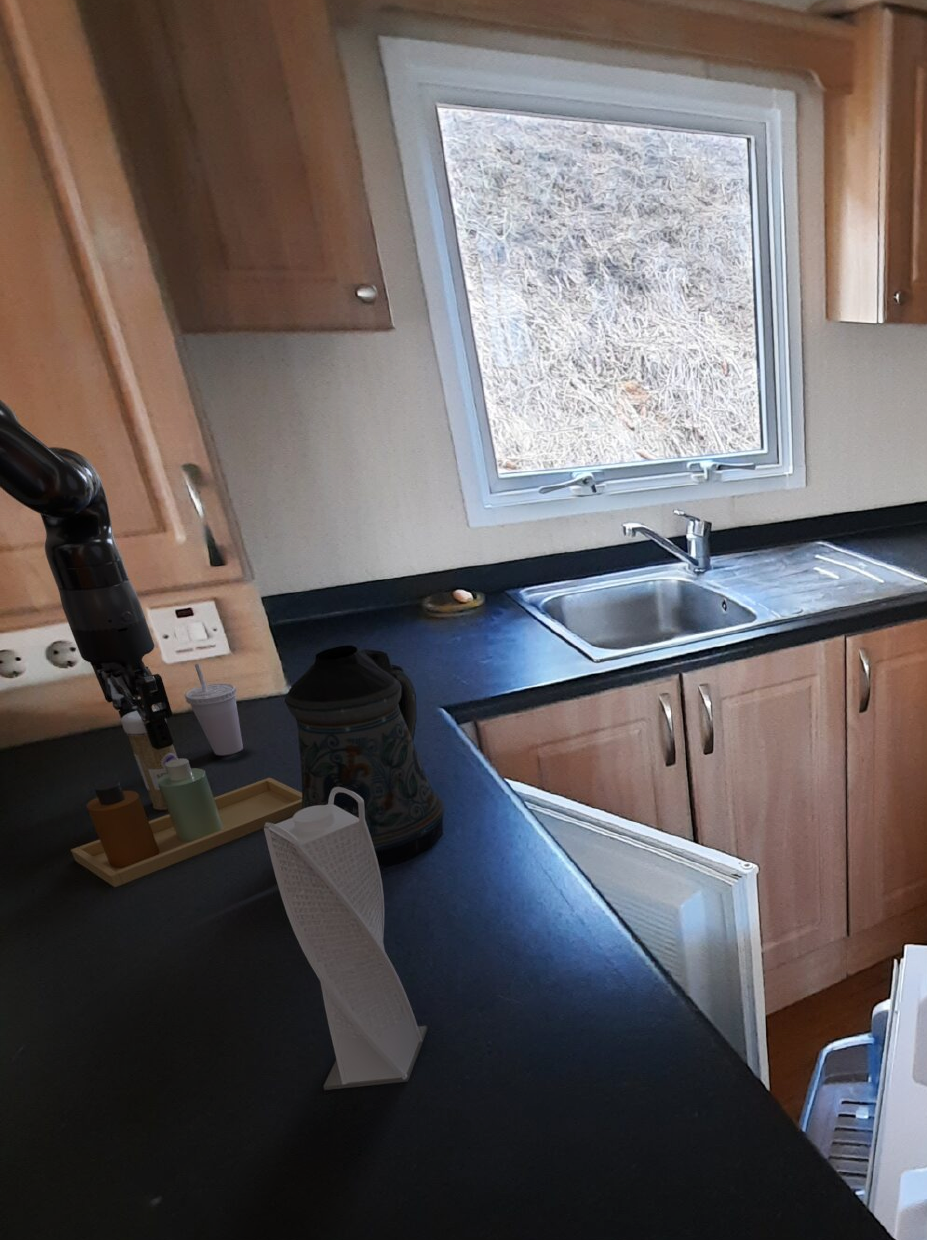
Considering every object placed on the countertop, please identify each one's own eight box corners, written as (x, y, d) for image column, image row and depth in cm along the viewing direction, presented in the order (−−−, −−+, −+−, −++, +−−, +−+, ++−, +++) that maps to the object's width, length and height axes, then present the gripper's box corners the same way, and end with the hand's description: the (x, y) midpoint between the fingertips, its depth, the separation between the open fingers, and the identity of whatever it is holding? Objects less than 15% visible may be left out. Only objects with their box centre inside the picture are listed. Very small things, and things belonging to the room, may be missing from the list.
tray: (116, 891, 114) (110, 876, 113) (76, 864, 119) (70, 849, 118) (315, 811, 132) (311, 797, 131) (273, 790, 137) (269, 777, 136)
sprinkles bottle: (180, 813, 131) (148, 721, 125) (145, 813, 131) (111, 721, 124) (200, 797, 135) (170, 707, 129) (166, 797, 135) (134, 707, 129)
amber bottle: (121, 872, 116) (91, 799, 112) (102, 860, 119) (72, 787, 114) (167, 854, 120) (140, 782, 116) (148, 843, 123) (121, 772, 118)
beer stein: (296, 884, 116) (236, 688, 105) (317, 810, 132) (266, 633, 121) (447, 859, 121) (405, 670, 110) (449, 791, 138) (413, 620, 126)
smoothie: (196, 751, 147) (166, 664, 141) (241, 737, 152) (214, 652, 146) (216, 763, 144) (186, 674, 138) (261, 748, 149) (235, 661, 143)
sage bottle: (189, 846, 122) (163, 774, 118) (169, 834, 124) (144, 764, 120) (231, 829, 126) (208, 760, 121) (211, 819, 128) (188, 750, 124)
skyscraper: (443, 1027, 94) (379, 768, 82) (421, 1088, 87) (348, 815, 74) (349, 1036, 93) (270, 774, 80) (320, 1099, 86) (227, 823, 73)
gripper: (45, 615, 121) (93, 737, 129) (97, 637, 115) (144, 764, 122) (114, 601, 127) (156, 718, 135) (168, 621, 120) (208, 743, 128)
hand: (150, 740), depth 128 cm, fingers open, 6 cm apart
